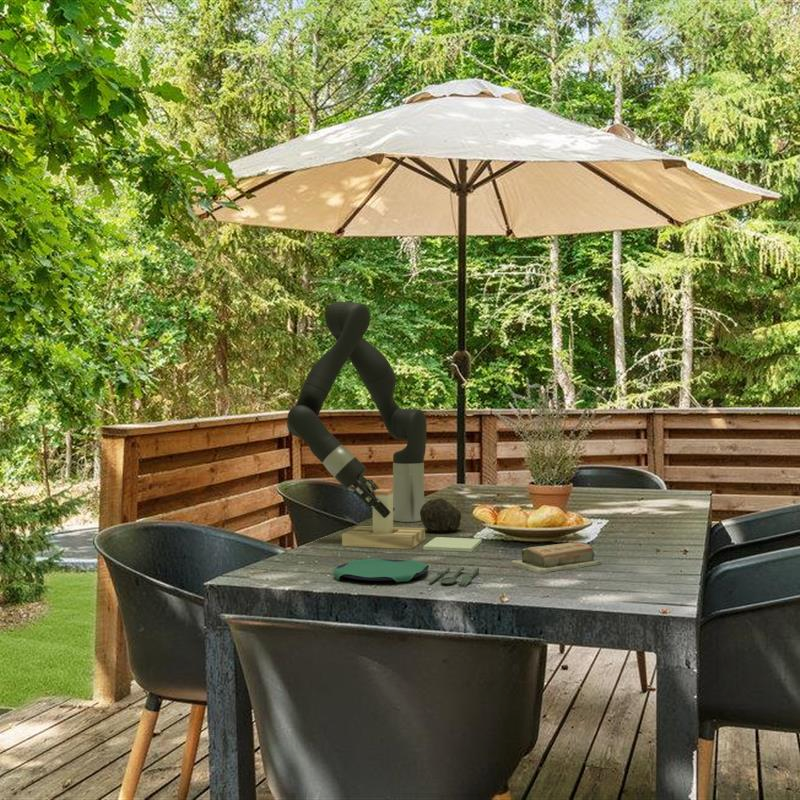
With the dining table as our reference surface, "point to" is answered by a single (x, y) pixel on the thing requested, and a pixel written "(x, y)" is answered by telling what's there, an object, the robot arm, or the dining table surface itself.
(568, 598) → the dining table surface
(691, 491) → the dining table surface
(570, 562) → the packaged product
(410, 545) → the wooden peg board
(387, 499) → the plug
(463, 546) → the mat
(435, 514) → the rock
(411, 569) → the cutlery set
